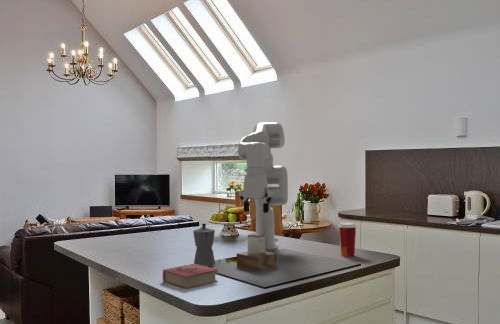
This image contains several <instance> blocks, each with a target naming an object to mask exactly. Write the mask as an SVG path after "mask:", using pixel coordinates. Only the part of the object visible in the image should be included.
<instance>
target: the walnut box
mask: <svg viewBox="0 0 500 324" xmlns="http://www.w3.org/2000/svg"><path fill="white" fill-rule="evenodd" d="M239 267H241V268H240V269H243V268H244V269H245V270H248V271H253V272H260V271H265V270H269V269H274V268H278V254H277V252H271V251H267V250H265V253H263V254H260V255H254V254H248V251H244V252H238V253H236V268H239Z"/></svg>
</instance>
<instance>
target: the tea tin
mask: <svg viewBox="0 0 500 324" xmlns="http://www.w3.org/2000/svg"><path fill="white" fill-rule="evenodd" d="M265 251H266V250H265V234H258V233H256V232H253V233H249V234H247V252H248V254H254V255H260V254H263V253H265Z"/></svg>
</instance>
